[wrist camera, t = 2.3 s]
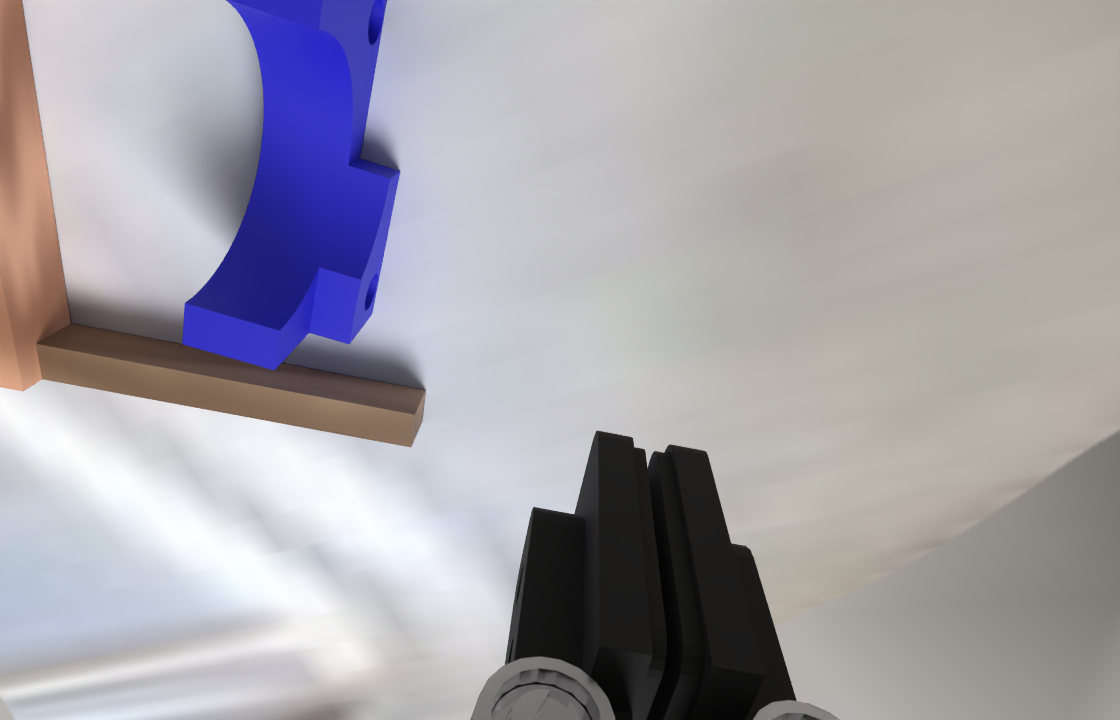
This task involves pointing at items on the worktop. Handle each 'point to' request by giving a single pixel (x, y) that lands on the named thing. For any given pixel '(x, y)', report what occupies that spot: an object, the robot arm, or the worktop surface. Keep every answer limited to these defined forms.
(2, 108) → the guide channel
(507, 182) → the worktop surface
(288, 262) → the cable clip
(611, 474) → the robot arm
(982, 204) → the worktop surface
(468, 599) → the worktop surface
